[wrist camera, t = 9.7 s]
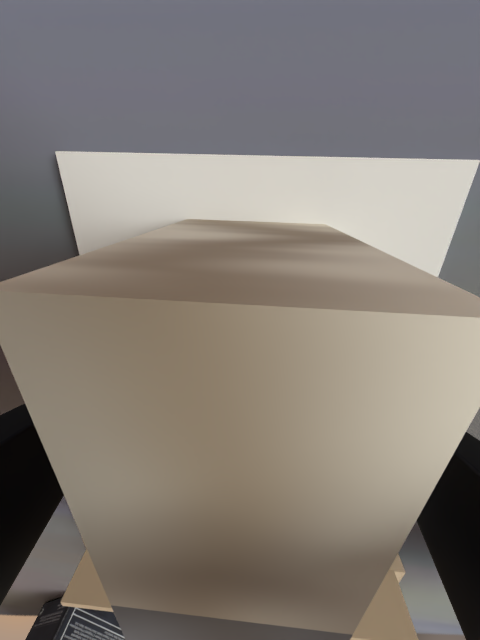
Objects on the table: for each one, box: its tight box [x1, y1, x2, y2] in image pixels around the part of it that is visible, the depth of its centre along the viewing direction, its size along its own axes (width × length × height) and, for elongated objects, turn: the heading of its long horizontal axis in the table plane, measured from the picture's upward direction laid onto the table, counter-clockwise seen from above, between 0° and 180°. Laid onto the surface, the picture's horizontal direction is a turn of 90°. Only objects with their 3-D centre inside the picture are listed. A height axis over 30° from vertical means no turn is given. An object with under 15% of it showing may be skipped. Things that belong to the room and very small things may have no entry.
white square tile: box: [55, 151, 480, 277], centre depth 12 cm, size 14×14×1 cm
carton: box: [61, 539, 418, 640], centre depth 18 cm, size 17×17×6 cm
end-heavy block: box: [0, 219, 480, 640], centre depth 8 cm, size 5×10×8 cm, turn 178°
